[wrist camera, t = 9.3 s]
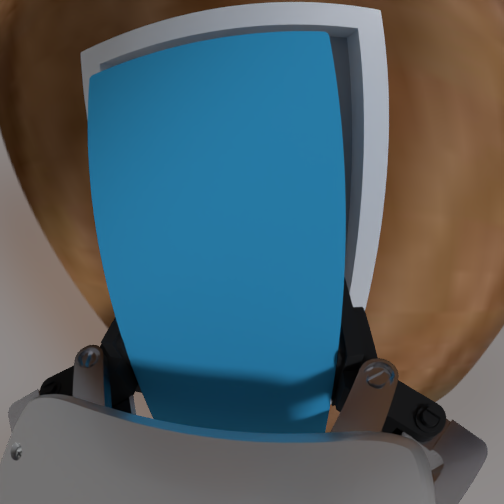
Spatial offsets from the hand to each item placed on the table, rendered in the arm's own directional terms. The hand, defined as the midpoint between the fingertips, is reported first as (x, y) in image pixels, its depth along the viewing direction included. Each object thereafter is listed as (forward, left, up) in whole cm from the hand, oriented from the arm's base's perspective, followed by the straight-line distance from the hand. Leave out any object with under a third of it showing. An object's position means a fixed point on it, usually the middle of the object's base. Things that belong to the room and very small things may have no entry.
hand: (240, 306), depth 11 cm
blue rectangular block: (0, 0, -1) cm, 1 cm away
